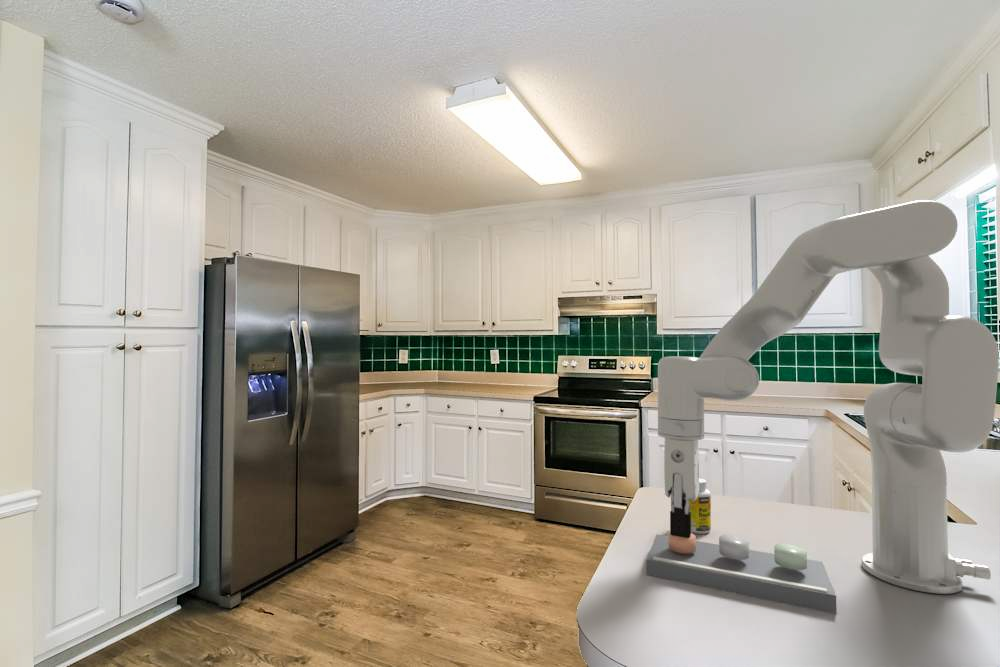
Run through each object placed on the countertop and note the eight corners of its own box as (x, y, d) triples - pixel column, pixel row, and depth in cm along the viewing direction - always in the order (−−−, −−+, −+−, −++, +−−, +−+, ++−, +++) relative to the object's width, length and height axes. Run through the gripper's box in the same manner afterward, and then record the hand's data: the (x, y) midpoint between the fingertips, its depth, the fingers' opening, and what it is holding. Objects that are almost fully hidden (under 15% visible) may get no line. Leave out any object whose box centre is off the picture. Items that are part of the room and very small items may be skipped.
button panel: (822, 577, 79) (822, 560, 79) (836, 613, 68) (836, 593, 68) (656, 547, 90) (656, 532, 90) (646, 575, 79) (646, 558, 79)
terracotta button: (696, 545, 84) (696, 532, 84) (694, 555, 80) (694, 542, 80) (670, 541, 86) (670, 528, 86) (666, 550, 82) (666, 537, 82)
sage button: (805, 560, 77) (804, 546, 77) (809, 572, 73) (808, 557, 73) (773, 555, 79) (773, 541, 79) (775, 566, 75) (775, 552, 75)
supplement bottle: (700, 537, 95) (699, 485, 96) (676, 528, 100) (675, 478, 100) (716, 531, 98) (716, 480, 99) (692, 523, 103) (692, 474, 103)
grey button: (748, 551, 80) (748, 537, 80) (749, 561, 76) (749, 547, 76) (719, 546, 82) (719, 533, 82) (718, 556, 78) (718, 542, 78)
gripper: (701, 436, 75) (701, 556, 74) (706, 423, 88) (706, 524, 88) (651, 432, 78) (651, 547, 78) (663, 420, 92) (663, 518, 91)
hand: (680, 535), depth 83 cm, fingers closed
